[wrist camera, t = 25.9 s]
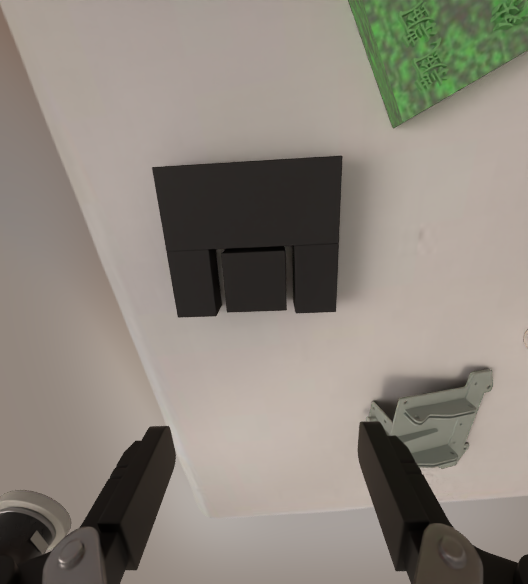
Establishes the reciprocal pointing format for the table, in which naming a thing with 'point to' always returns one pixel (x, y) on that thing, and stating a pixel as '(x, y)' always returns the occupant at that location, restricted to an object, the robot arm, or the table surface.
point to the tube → (526, 339)
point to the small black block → (254, 279)
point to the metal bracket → (436, 421)
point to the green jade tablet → (436, 46)
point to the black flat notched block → (251, 225)
